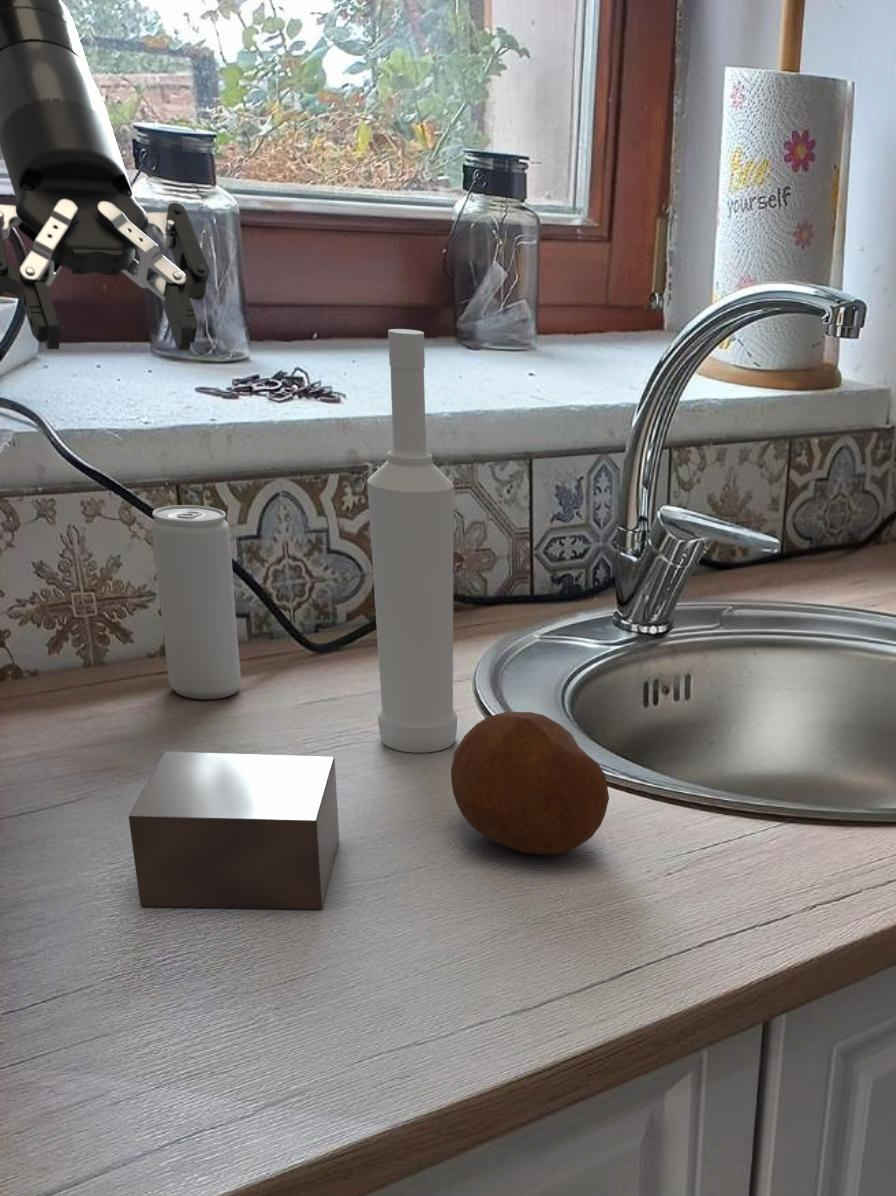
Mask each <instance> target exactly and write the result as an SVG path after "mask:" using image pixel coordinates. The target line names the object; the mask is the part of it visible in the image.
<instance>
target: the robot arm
mask: <svg viewBox="0 0 896 1196" xmlns="http://www.w3.org/2000/svg"><path fill="white" fill-rule="evenodd" d="M80 41H81V40H80V37H79V34H78V32H77V29H76V26H75V23H74V21H73V18H72V16H71V14H70V11H69V10H68V9H67V7H66V6H65V4H64V3H63V2H62V1H61V0H0V151H1V155H2V157H3V161H4V164H5V167H6V170H7V175H8V177H9V180H10V183H11V186H12V190H13V193H14V197H15V199H16V203H15V205H14V204H3V203H0V296H3V295H5V294H6V293H7V294H10V295H13V296H15V297H17V298H18V299H19V300H20V301H21V302H22V305H23V308H24V312H25V315H26V318H27V321H28V324H29V328H30V331H31V335H32V336H33V338H35V340H36V341H37V342H44V345H45V349H46V350H59V349H60V344H61V329H60V328H61V327H60V324H59V321H58V318H57V314H56V312H55V308H54V305H53V302H52V299H51V295H50V292H49V289H48V287H50V286H51V285H52V284H53V282H54V280H55V279H56V277H57V276H58V274H59V273H60V271H61V269H62V268H64V269H66V270H69V271H70V273H71V275H87V274H93V273H97V274H101V275H105V276H120V273H122V274H124V275H125V276H126V277H128V278H129V280H131V281H132V282H134V283H135V284H136V285H137V286H138V287H139V288H141V289H146V288H147V289H148V290H150V291H151V292H152V293H154V295H156V296H157V297H158V298H159V299H161V300H162V301H163V302H164V304H163V310H164V312H165V316H166V319H167V322H168V325H169V329H170V331H171V335H172V338H173V341H174V344H175V347H176V350H177V351H178V352H179V351H180V352H183V351H186V352H188V351H190V349H191V344H192V343H195V341H196V335H197V331H198V327H199V326H198V325H199V322H198V319H197V316H196V313H195V309H194V307H193V304H192V301H191V299H193V300H196V301H201V300H204V298H205V296H206V292H207V284H208V280H209V278H210V274H211V273H210V272H211V269H210V267H209V264H208V262H207V260H206V257H205V254H204V251H203V249H202V246H201V243H200V242H199V239H198V237H197V235H196V232H195V229H194V227H193V224H192V221H191V219H190V217H189V214H188V212H187V209H186V208H185V207H184V206H183V205H182V204H180V203H179V202H171V203H170V204H168V207H167V211H146V210H144V208H143V207H142V206H141V205H140V204H139V202H138V201H136V199H135V197H134V194H133V190H132V186H131V183H130V180H129V177H128V174H127V171H126V168H125V165H124V162H123V160H122V155H121V153H120V150H119V146H118V143H117V140H116V137H115V134H114V131H113V128H112V125H111V122H110V118H109V115H108V112H107V109H106V106H105V103H104V101H103V98H102V95H101V94H100V91H99V89H98V88H97V85H96V84H95V82H94V80H93V77H92V74H91V72H90V68H89V66H88V62H87V60H86V56H85V52H84V50H83V47H82V44H81V42H80ZM13 228H17V230H18V231H19V232H20V233H21V234H22V235H23V236H24V237H26V238H27V239H28V240H29V241H30V242H31V243H32V248H31V250H30V251H29V253H28V254H27V256H26V257H25V259H24V260H23V262H22V263H21V265H17V264H14V263H10V262H9V261H8V257H7V253H6V249H5V246H4V245H5V244H4V240H6V239H8V238H9V236H10V230H11V229H13ZM148 233H150V234H153V235H154V236H156V237H157V238H158V240H159V241H160V243H161V244H162V247H163V248H164V249H165V250H170V253H171V255H172V257H173V260H174V262H175V264H174V263H173V262H172V261H171V260H169V259H168V258H167V257H166V256H165V255H164V254H163V252H162V250H161V247H160V246H159V245H158V243H156V242H155V241H154V240H153V239H152V238H150V237H149V236H148V235H147V234H148ZM136 255H138V258H139V261H138V260H137V259H136V258H135V257H136Z"/></svg>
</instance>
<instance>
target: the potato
mask: <svg viewBox="0 0 896 1196" xmlns="http://www.w3.org/2000/svg"><path fill="white" fill-rule="evenodd" d="M450 781H451V787H452V794H453V796H454V800H455V803H456V805H457V807H458V809H459V811H460V813H461V815H462V816H463V818H464V819H465V820H466V822H467V823H468V824H469V825H470V826H471V827H472V828H473V829H474V830H475V831H476V832H477V833H479V834H481V835H482V836H484V837H485V838H487V839H489V840H491V841H493V842H495V843H498V844H500V845H502V846H504V847H507V848H509V849H511V850H514V851H517V852H519V853H523V854H529V855H537V856H538V855H539V856H554V855H558V854H563V853H567V852H569V851H572V850H574V849H576V848H577V847H580V846H581V845H583V844H584V843H586V842H588V841H589V840H590V839H592V837H593V836H594V835H595V834H596V832H597V831H598V830H599V828H600V827H601V825H602V823H603V821H604V819H605V817H606V813H607V810H608V809H607V808H608V805H609V800H610V795H609V788H608V782H607V777H606V775H605V772H604V771H603V769H602V767H601V765H600V764H599V762H598V761H596V760H595V759H593V758H592V757H591V756H589V754H588V753H586V752H585V751H584V750H583V748H581V747H580V745H579V744H578V742H577V741H576V739H575V738H574V736H573V734H572V733H571V732H570V731H569V730H568V729H566V728H565V727H564V726H563V725H561V724H560V723H559V722H557V721H555V720H553V719H552V718H549V717H548V716H546V715H544V714H541V713H537V712H532V711H505V712H500V713H496V714H494V715H490V716H487V717H485V718H483V719H482V720H481V721H479V722H477V723H476V724H474V725H473V726H472V728H471V729H470V730H469V731H468V732H467V733H466V734H465V735H464V736H463V738H462V739H461V741H460V742H459V744H458V745H457V747H456V749H455V750H454V753H453V756H452V761H451V767H450Z"/></svg>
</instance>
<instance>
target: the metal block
mask: <svg viewBox="0 0 896 1196" xmlns="http://www.w3.org/2000/svg"><path fill="white" fill-rule="evenodd" d="M335 760H336V759H335V757H334V756H319V755H318V756H317V755H316V756H313V755H287V754H285V755H284V754H252V753H225V752H224V753H223V752H221V753H220V752H193V751H192V752H189V751H163V753H162V754H161V757H160V759H159V760H158V762H157V763H156V766H155V767H154V769H153V771H152V773H151V775H150V777H149V779H148V780H147V782H146V784H145V786H144V788H143V790H142V791H141V793H140V795H139V797H138V799H137V801H136V802H135V804H134V806H133V808H132V809H131V811H130V813H129V815H128V822H129V830H130V838H131V843H132V844H131V847H132V853H133V860H134V861H133V862H134V868H135V876H136V884H137V891H138V899H139V906H140V907H149V908H150V907H152V908H153V907H154V908H208V909H209V908H211V909H215V908H216V909H266V910H267V909H272V910H273V909H274V910H276V909H277V910H279V909H280V910H323V907H324V904H325V899H326V895H327V891H328V887H329V883H330V878H331V874H332V871H333V866H334V862H335V858H336V854H337V850H338V846H339V842H340V828H339V827H340V826H339V811H338V810H339V809H338V793H337V776H336V761H335Z"/></svg>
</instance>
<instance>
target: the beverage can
mask: <svg viewBox="0 0 896 1196" xmlns="http://www.w3.org/2000/svg"><path fill="white" fill-rule="evenodd" d="M151 515H152V517H153V520H152V521H151V524H150V526H151V527H150V528H151V536H152V544H153V554H154V562H155V572H156V580H157V581H156V582H157V589H158V590H157V591H158V599H159V607H160V616H161V624H162V626H161V627H162V633H163V634H162V635H163V643H164V651H165V660H166V670H167V678H168V679H167V680H168V684H169V686H170V688H172V690H174V692H175V693H177V694H178V695H180V696H181V697H185V698H188V699H194V700H215V699H216V700H217V699H224V698H227V697H230V696H232V695H235V693H237V691H239V688H240V687H241V685H242V674H241V664H240V663H241V662H240V661H241V660H240V651H239V639H238V638H239V637H238V627H237V615H236V603H235V588H234V576H233V575H234V574H233V573H234V572H233V559H232V547H231V534H230V526H229V523H228V522H227V521H226V516H227V514H226V512H225V511H224V510H222V509H219V508H216V507H210V506H207V505H195V504H193V505H191V504H180V505H166V506H162V507H159V508H156V509H153V511H152V513H151Z"/></svg>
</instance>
